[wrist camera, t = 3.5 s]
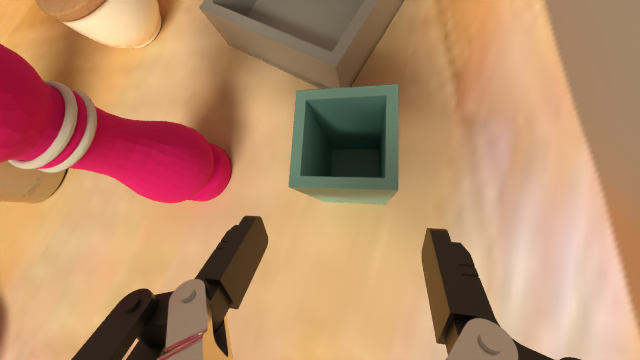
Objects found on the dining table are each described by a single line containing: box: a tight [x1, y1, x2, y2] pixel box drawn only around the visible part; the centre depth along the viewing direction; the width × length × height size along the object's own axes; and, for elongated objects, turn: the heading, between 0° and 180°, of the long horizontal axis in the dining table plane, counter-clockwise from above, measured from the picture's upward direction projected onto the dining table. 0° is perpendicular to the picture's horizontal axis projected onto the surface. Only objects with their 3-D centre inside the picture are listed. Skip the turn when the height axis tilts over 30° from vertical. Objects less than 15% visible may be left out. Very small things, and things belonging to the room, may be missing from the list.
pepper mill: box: [0, 44, 231, 203], centre depth 16 cm, size 7×7×20 cm
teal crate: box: [289, 84, 399, 204], centre depth 17 cm, size 6×6×10 cm
